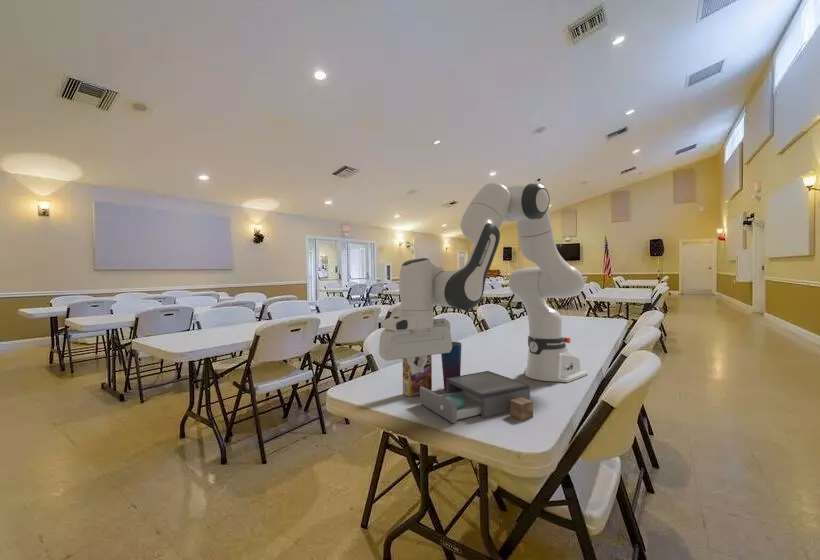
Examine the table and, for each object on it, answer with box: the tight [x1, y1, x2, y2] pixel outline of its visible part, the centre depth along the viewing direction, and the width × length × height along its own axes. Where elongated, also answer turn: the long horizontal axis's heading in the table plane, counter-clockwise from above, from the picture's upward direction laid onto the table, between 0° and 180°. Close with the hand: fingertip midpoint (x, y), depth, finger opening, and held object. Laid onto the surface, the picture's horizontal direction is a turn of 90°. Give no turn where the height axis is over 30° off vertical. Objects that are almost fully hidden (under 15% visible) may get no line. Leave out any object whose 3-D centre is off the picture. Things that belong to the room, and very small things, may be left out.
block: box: [510, 397, 534, 421], centre depth 97 cm, size 4×4×4 cm
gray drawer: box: [419, 387, 482, 424], centre depth 104 cm, size 15×17×5 cm
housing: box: [445, 370, 531, 418], centre depth 109 cm, size 16×18×6 cm
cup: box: [440, 341, 462, 392], centre depth 121 cm, size 7×7×15 cm
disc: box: [444, 396, 465, 409], centre depth 103 cm, size 6×6×2 cm
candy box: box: [402, 355, 433, 398], centre depth 118 cm, size 9×4×15 cm, turn 125°
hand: (417, 373), depth 98 cm, fingers closed
